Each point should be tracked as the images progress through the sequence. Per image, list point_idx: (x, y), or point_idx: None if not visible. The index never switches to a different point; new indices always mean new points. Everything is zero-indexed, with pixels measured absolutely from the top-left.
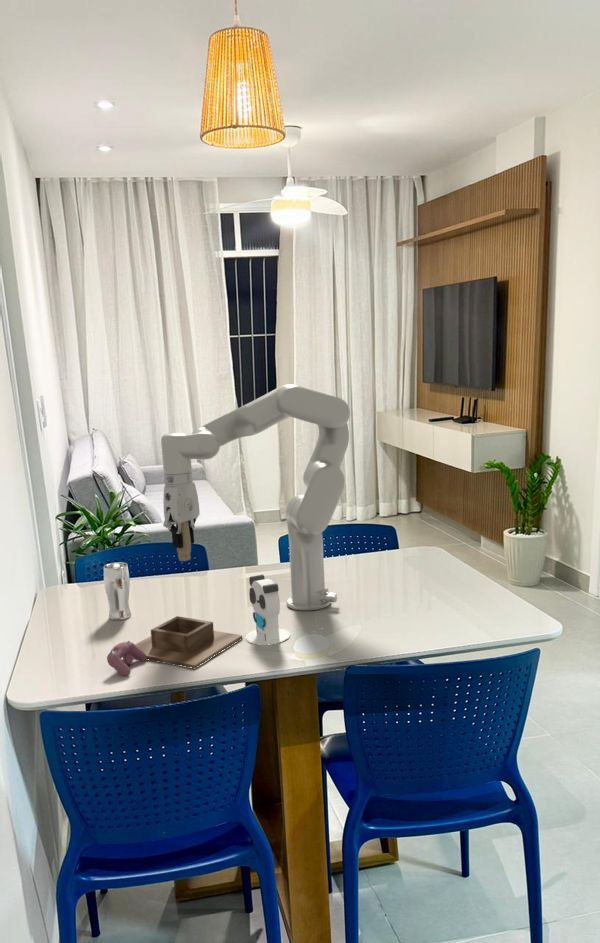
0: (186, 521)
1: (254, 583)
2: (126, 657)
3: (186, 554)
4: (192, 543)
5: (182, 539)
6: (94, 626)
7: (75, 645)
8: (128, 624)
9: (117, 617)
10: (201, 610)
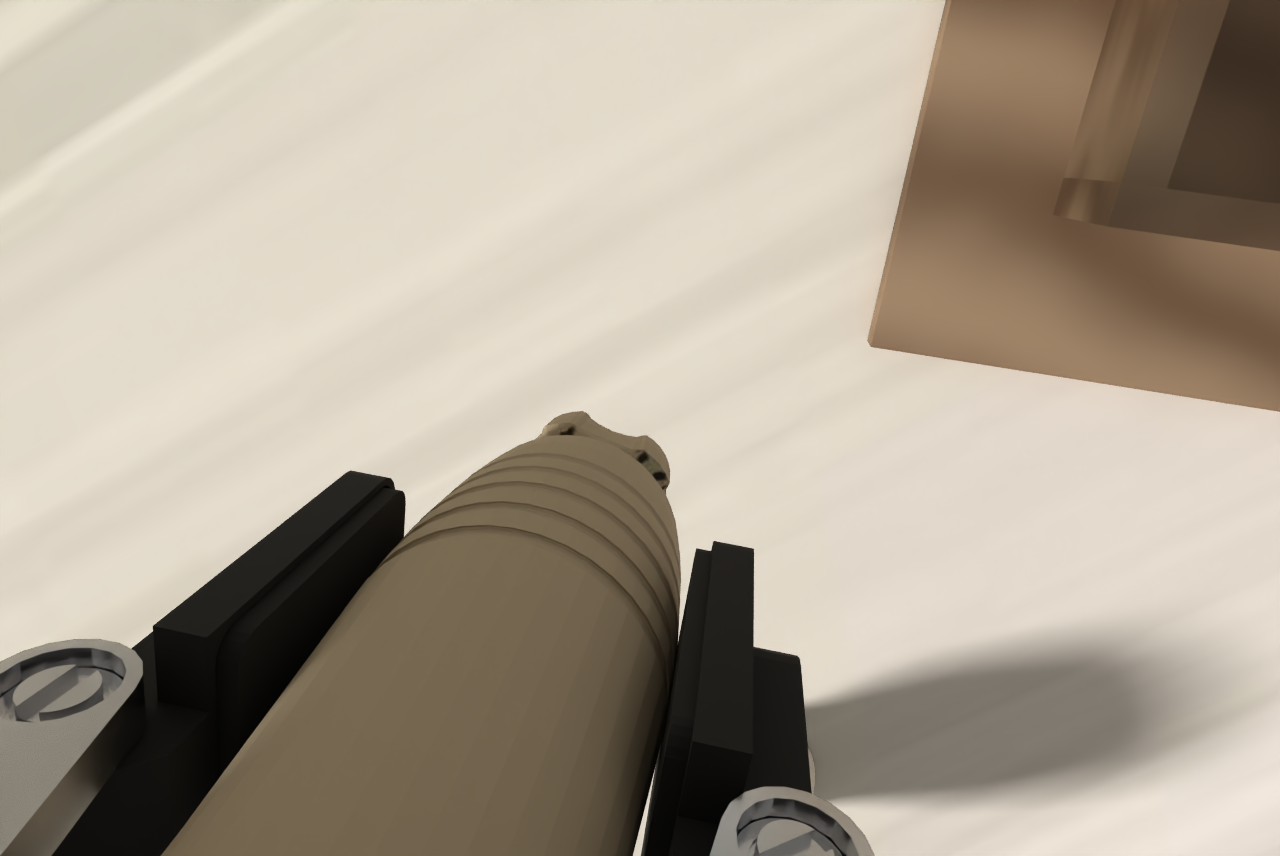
0: None
1: None
2: None
3: (640, 463)
4: (390, 490)
5: (718, 632)
6: (930, 830)
7: (1264, 793)
8: (862, 661)
9: (811, 765)
10: (498, 313)
